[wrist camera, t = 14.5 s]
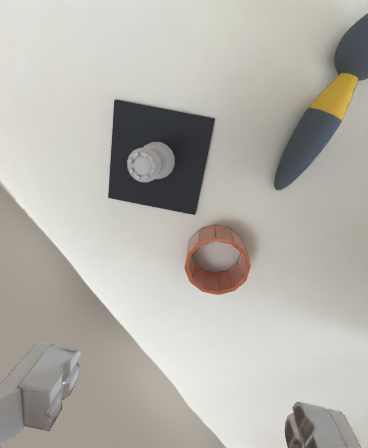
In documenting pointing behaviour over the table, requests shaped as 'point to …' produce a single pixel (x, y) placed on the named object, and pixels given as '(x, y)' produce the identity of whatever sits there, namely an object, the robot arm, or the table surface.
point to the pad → (167, 134)
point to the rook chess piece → (151, 162)
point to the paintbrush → (326, 106)
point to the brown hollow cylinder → (222, 280)
